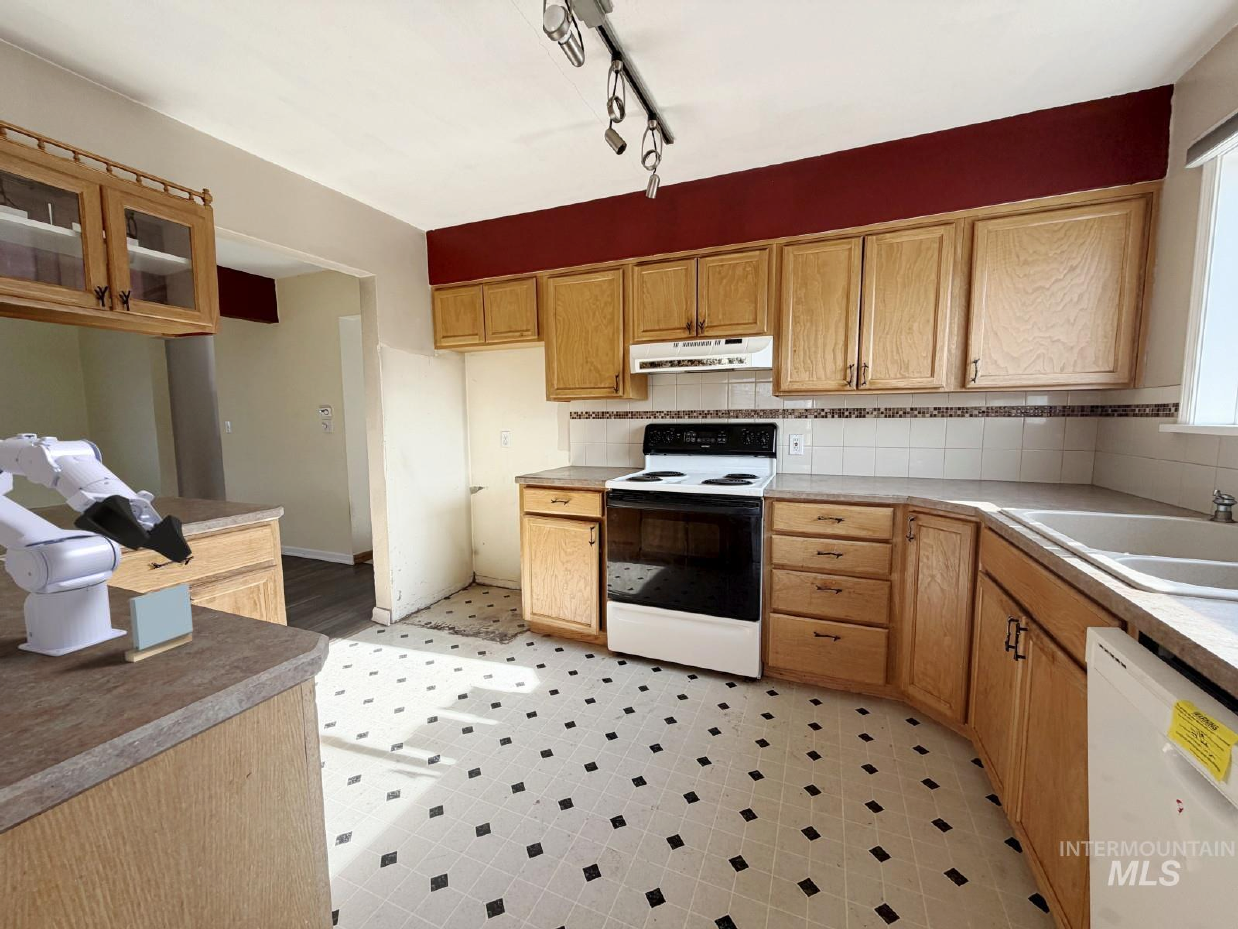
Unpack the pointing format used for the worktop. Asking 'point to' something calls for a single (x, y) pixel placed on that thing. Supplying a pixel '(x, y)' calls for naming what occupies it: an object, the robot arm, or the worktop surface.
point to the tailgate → (160, 616)
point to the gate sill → (157, 648)
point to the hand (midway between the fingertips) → (164, 551)
